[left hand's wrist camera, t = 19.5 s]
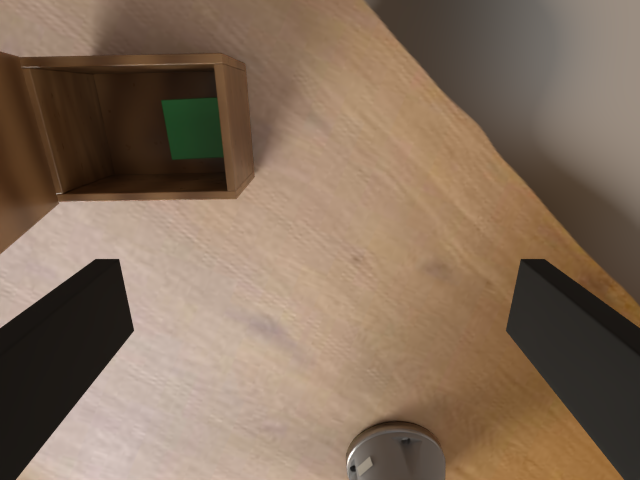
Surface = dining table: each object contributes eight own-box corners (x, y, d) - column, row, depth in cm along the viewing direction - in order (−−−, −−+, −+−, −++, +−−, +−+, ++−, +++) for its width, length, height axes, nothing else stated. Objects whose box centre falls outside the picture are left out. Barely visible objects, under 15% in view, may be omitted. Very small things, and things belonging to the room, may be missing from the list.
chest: (245, 63, 39) (221, 53, 30) (254, 177, 43) (236, 199, 34) (88, 66, 39) (16, 57, 30) (113, 179, 43) (56, 202, 34)
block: (232, 97, 40) (219, 96, 34) (239, 149, 41) (227, 157, 36) (181, 99, 40) (160, 99, 35) (190, 152, 42) (171, 159, 36)
